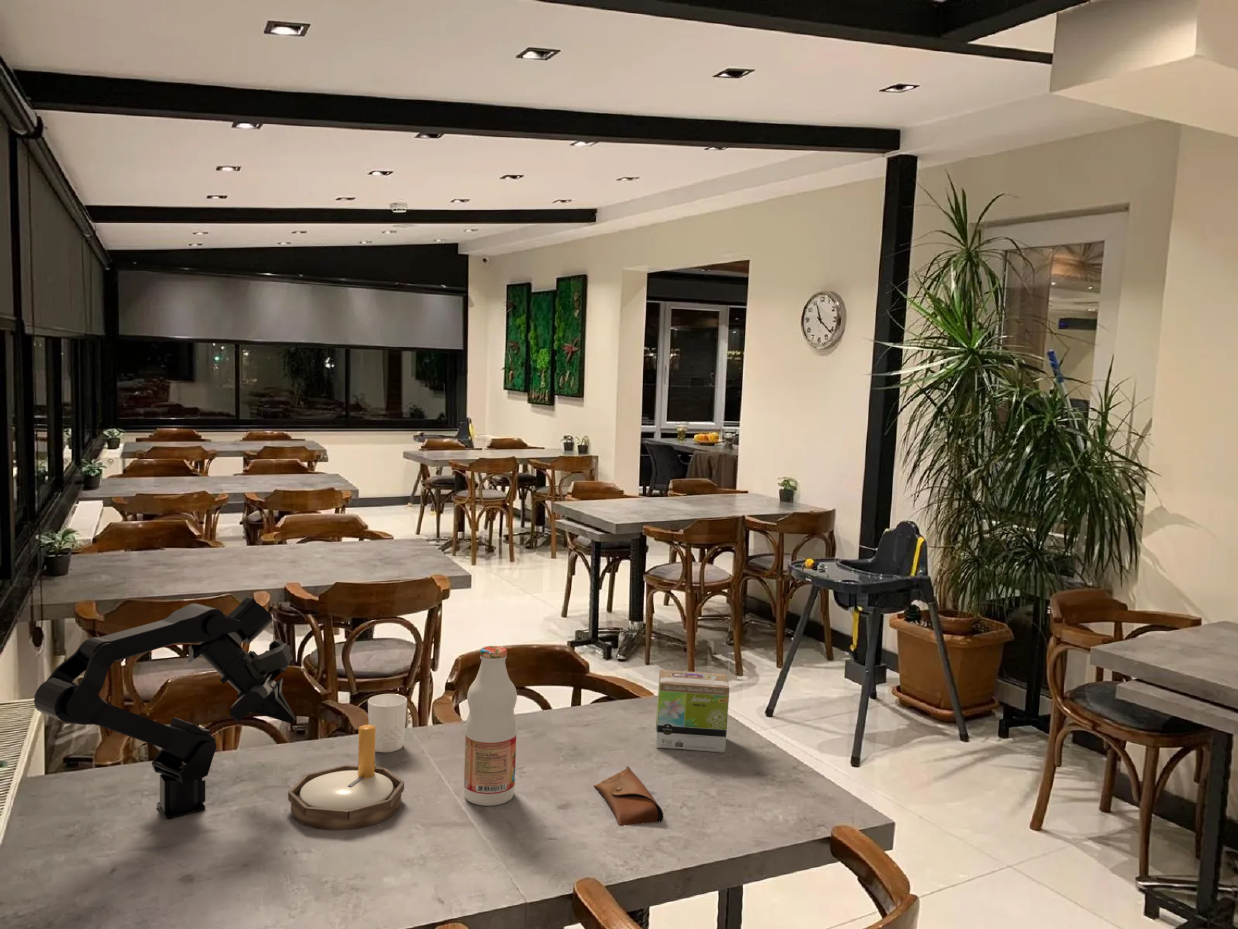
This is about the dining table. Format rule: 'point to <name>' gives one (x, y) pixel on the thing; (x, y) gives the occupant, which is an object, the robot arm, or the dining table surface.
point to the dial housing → (345, 818)
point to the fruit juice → (490, 732)
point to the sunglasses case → (629, 799)
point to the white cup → (388, 721)
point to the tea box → (692, 711)
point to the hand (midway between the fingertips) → (293, 721)
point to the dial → (350, 781)
